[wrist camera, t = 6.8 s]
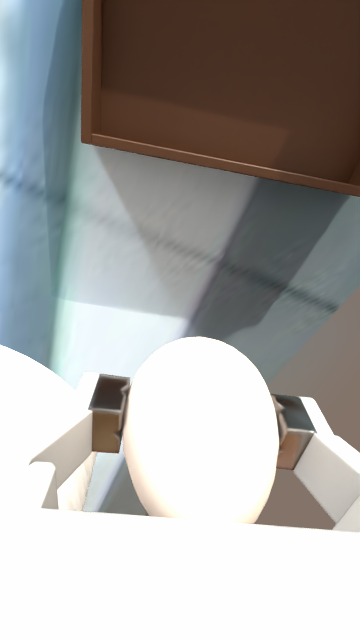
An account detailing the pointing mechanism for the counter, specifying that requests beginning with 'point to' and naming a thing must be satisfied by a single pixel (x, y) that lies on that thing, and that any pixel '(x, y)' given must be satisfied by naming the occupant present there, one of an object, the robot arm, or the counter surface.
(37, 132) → the counter surface
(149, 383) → the egg
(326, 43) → the tray
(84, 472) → the plate stack
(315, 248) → the counter surface
